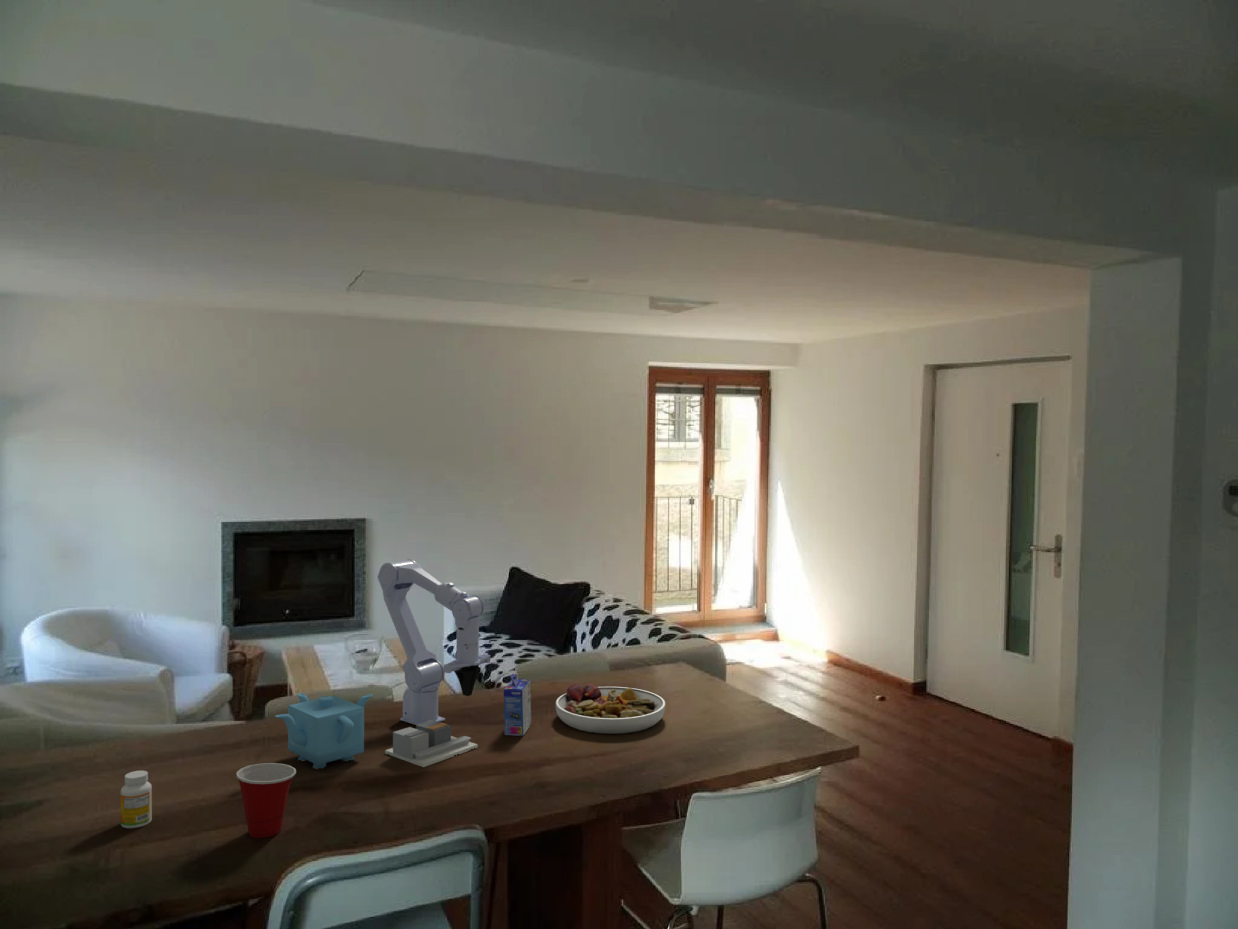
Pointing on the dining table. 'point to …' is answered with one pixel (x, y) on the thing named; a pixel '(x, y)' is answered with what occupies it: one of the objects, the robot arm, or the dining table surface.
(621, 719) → the bowl
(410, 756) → the rail plate
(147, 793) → the supplement bottle
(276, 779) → the plastic cup
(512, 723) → the ink cartridge box
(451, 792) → the dining table surface
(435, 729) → the block
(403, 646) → the robot arm
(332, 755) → the teakettle
